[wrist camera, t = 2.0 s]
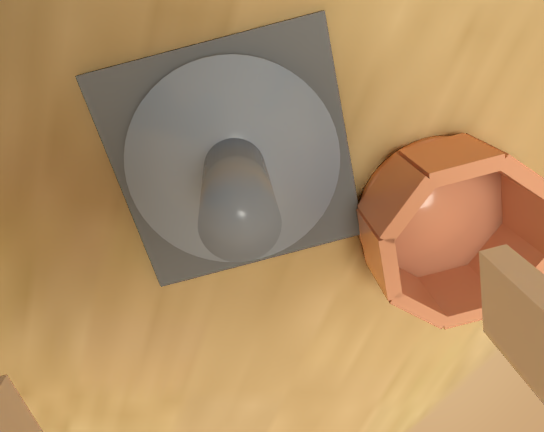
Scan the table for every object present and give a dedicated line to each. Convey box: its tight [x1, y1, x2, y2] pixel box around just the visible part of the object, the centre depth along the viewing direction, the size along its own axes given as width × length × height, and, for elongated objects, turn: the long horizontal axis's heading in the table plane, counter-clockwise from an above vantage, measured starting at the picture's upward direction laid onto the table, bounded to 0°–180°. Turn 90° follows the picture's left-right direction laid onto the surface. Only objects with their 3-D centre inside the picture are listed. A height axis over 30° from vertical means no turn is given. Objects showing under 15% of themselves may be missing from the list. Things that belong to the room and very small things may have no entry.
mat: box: [75, 11, 360, 287], centre depth 28 cm, size 14×14×1 cm
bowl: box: [356, 133, 544, 329], centre depth 29 cm, size 10×10×5 cm
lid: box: [124, 53, 340, 262], centre depth 24 cm, size 13×13×9 cm
